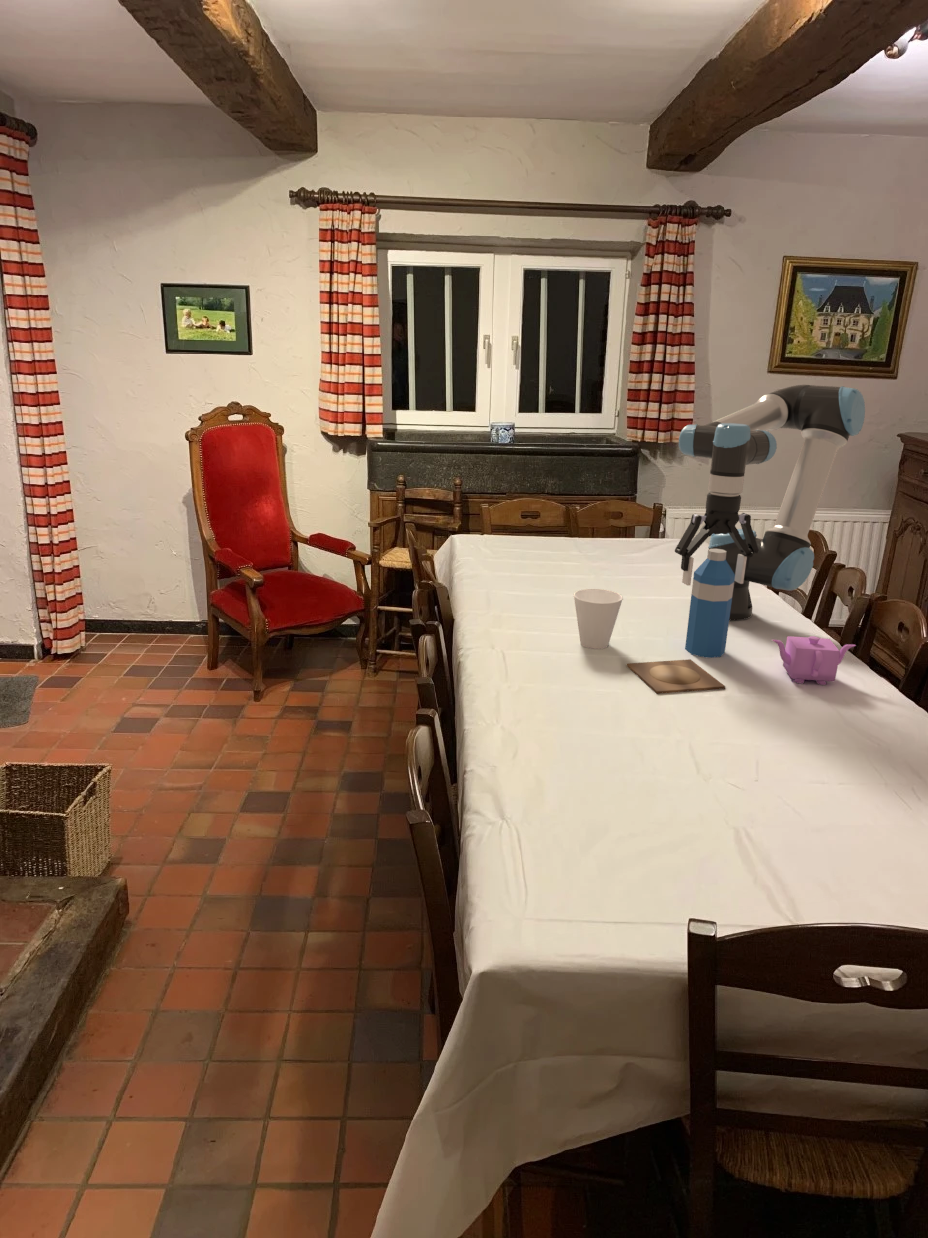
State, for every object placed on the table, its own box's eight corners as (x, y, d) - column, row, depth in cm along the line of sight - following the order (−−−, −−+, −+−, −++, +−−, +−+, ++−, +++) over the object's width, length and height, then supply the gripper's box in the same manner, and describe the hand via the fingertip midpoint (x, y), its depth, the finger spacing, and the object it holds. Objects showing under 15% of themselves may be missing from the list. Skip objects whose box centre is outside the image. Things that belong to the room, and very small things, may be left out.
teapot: (839, 668, 194) (846, 629, 191) (857, 691, 182) (865, 649, 178) (759, 663, 196) (765, 624, 193) (772, 685, 183) (778, 644, 180)
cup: (628, 644, 206) (632, 596, 202) (600, 656, 198) (604, 606, 194) (588, 632, 214) (591, 585, 210) (560, 643, 205) (563, 595, 201)
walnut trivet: (690, 661, 196) (690, 658, 196) (725, 688, 181) (725, 685, 181) (626, 665, 192) (626, 663, 192) (656, 694, 178) (657, 690, 177)
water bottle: (726, 659, 198) (740, 557, 190) (685, 655, 199) (697, 554, 191) (723, 646, 206) (736, 547, 198) (684, 642, 208) (695, 544, 200)
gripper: (764, 490, 197) (751, 577, 203) (666, 490, 191) (656, 580, 198) (782, 495, 190) (768, 585, 196) (681, 496, 184) (671, 589, 191)
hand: (712, 583), depth 197 cm, fingers open, 13 cm apart
